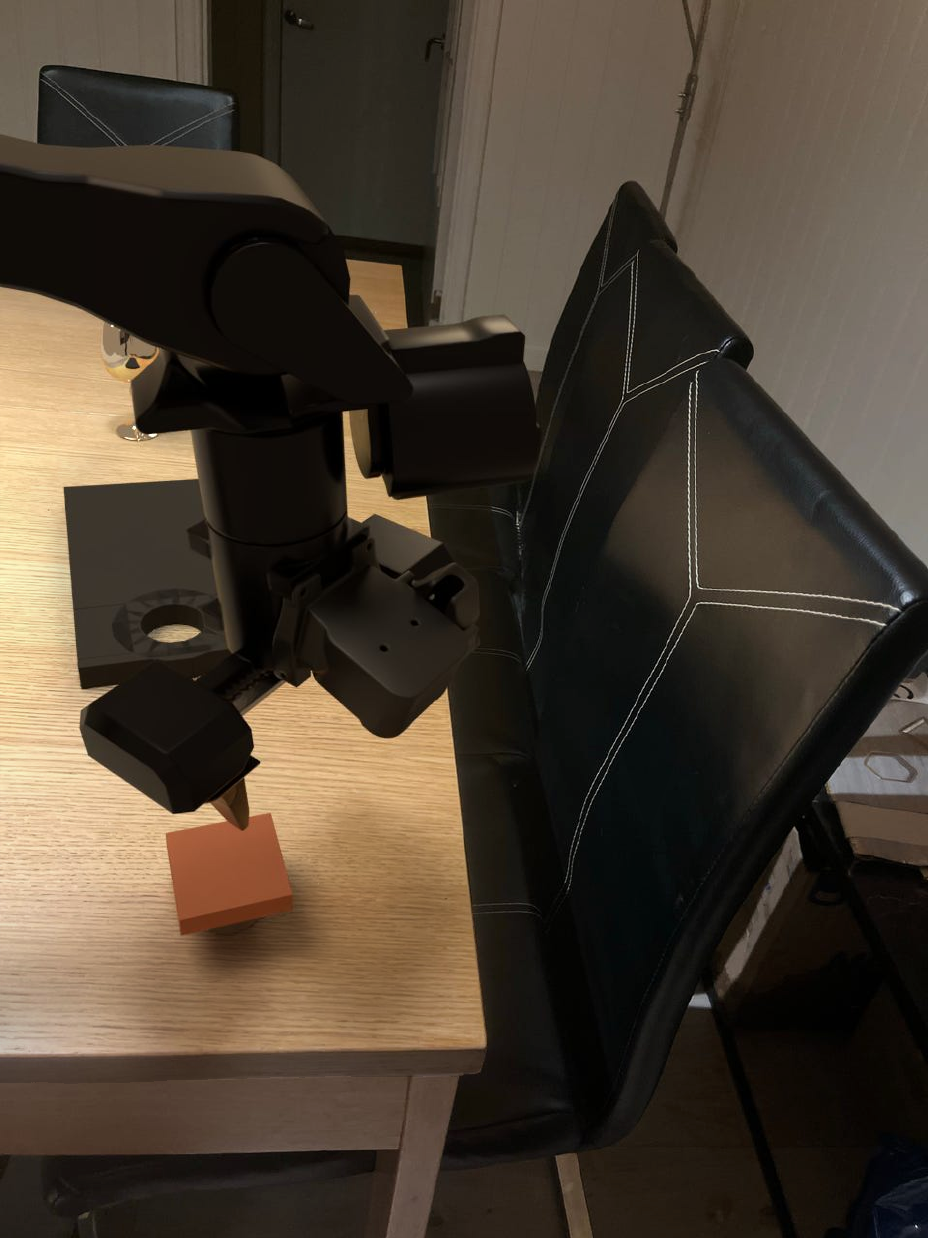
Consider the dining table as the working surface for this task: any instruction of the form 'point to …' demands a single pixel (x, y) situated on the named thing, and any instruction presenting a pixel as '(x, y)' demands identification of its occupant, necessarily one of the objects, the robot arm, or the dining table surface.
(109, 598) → the back pad
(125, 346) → the wineglass
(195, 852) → the reddish orange rectangular block
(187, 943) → the dining table surface
